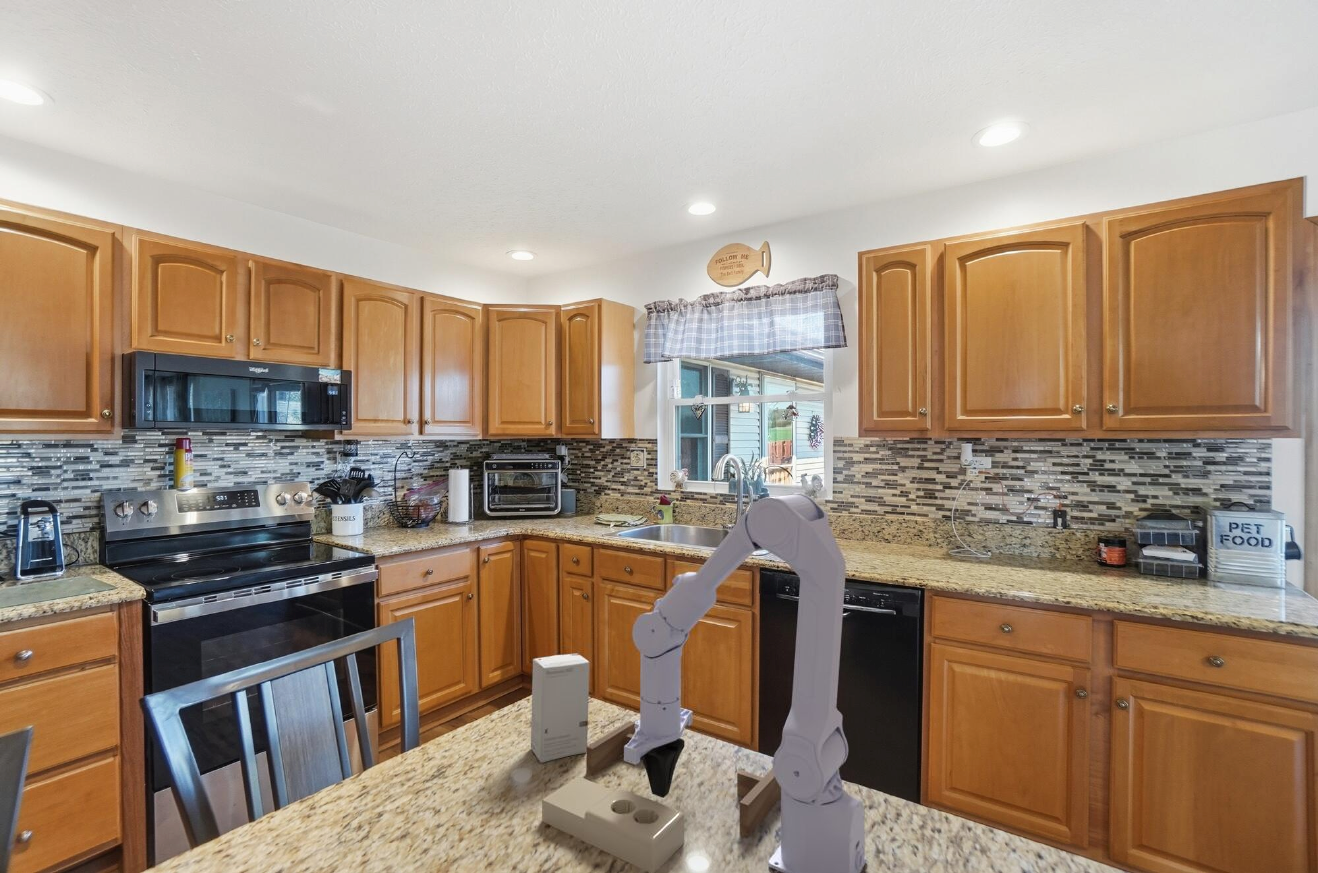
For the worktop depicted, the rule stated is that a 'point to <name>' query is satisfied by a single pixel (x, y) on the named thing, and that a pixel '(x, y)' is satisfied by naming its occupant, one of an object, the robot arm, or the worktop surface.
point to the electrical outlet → (616, 822)
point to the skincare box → (559, 706)
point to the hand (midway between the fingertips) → (660, 793)
